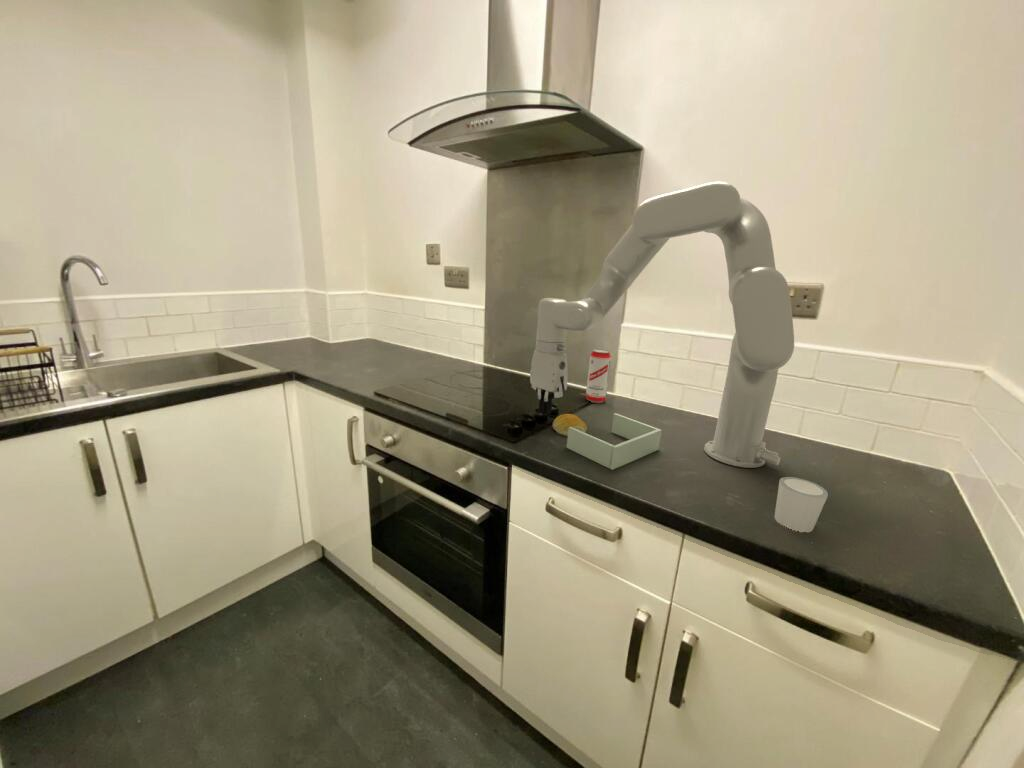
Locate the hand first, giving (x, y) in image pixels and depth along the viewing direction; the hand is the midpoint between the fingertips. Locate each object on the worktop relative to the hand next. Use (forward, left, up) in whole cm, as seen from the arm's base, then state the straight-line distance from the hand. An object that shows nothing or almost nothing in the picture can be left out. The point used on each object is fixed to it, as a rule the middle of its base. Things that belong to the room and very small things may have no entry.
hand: (544, 413), depth 113 cm
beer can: (+3, -25, -2) cm, 25 cm away
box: (-23, 0, -2) cm, 23 cm away
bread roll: (-9, 0, -2) cm, 10 cm away
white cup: (-59, -2, -2) cm, 59 cm away
